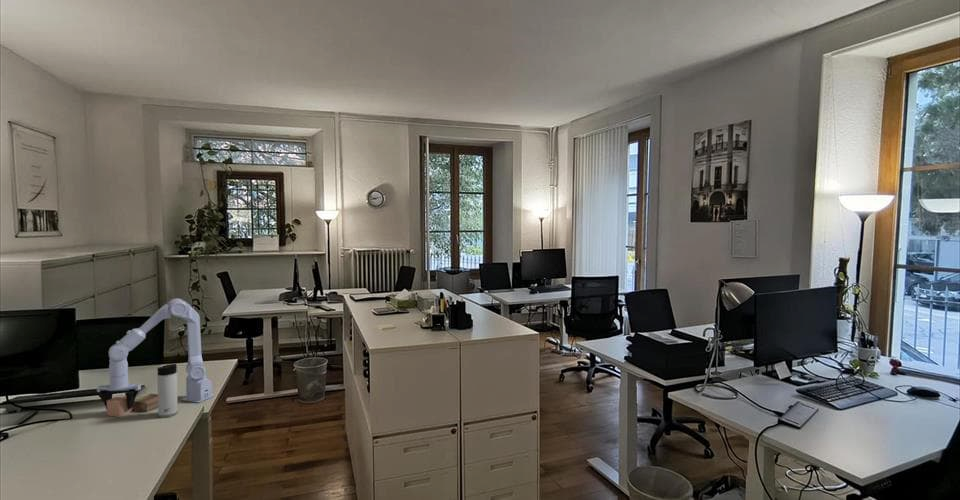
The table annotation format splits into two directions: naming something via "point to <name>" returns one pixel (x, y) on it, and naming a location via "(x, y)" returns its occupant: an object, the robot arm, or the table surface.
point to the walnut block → (146, 403)
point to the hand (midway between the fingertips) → (119, 408)
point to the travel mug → (167, 391)
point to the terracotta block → (117, 406)
